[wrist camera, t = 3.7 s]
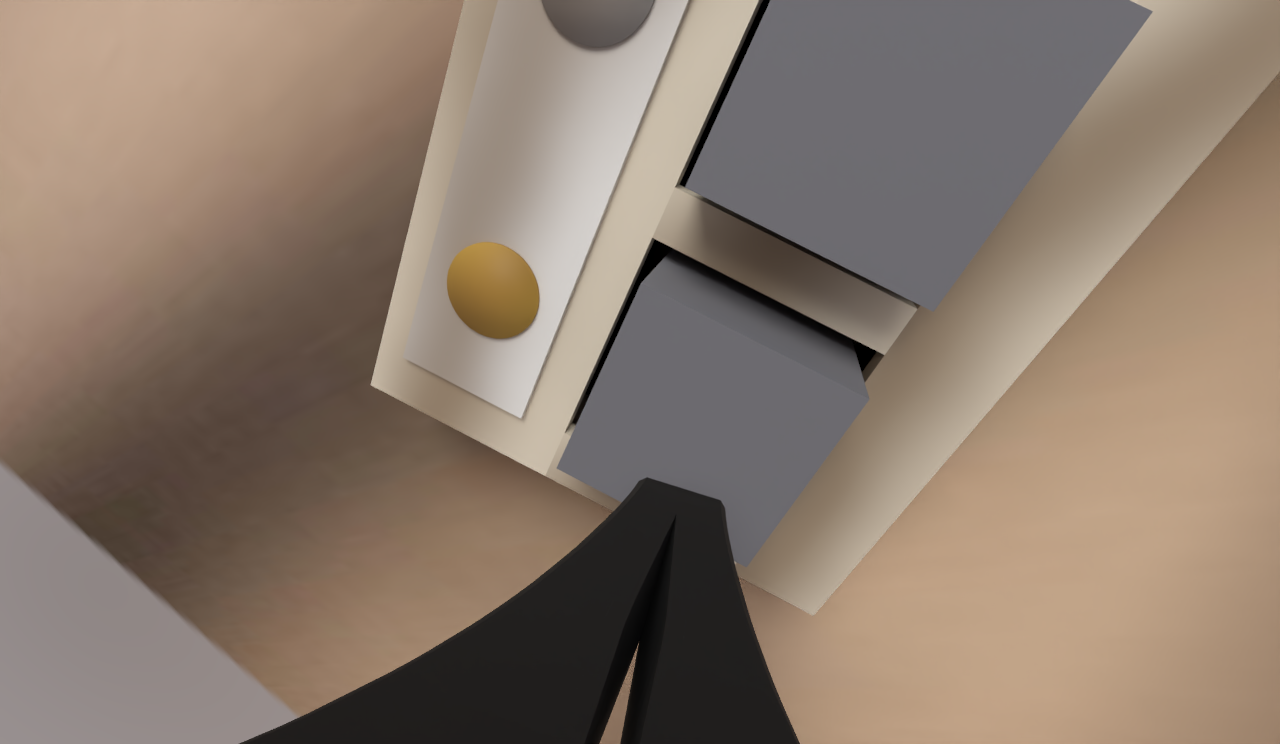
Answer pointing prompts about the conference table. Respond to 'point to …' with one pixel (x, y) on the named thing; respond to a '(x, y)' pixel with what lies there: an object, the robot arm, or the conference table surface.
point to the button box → (756, 241)
